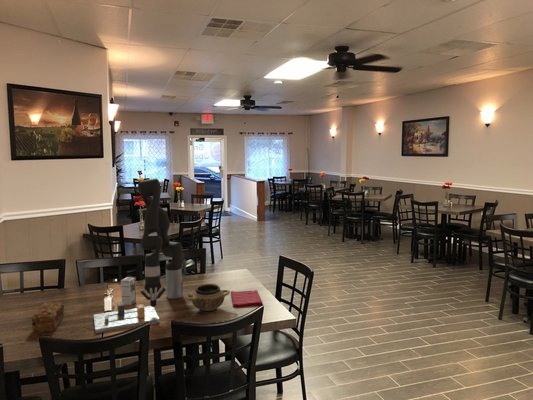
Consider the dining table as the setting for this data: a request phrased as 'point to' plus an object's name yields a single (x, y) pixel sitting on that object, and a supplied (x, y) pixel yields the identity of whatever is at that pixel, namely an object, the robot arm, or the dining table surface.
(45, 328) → the bread
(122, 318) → the console panel
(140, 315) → the fader knob
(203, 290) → the ceramic bowl
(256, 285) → the dining table surface
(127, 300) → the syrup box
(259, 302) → the dish towel
